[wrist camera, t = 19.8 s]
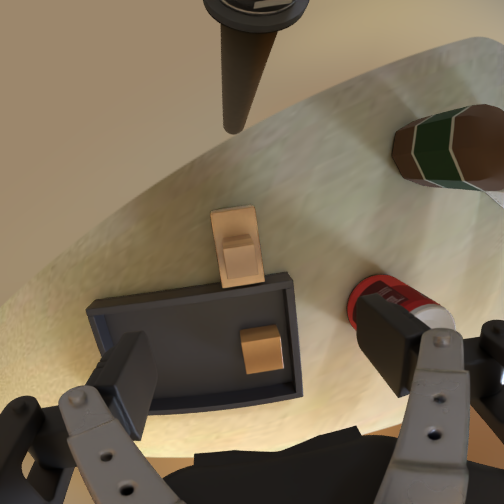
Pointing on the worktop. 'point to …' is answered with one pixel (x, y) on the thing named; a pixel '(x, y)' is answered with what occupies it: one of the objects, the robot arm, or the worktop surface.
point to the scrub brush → (237, 245)
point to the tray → (207, 342)
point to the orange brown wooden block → (261, 349)
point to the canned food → (401, 301)
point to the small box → (497, 196)
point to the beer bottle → (454, 149)
